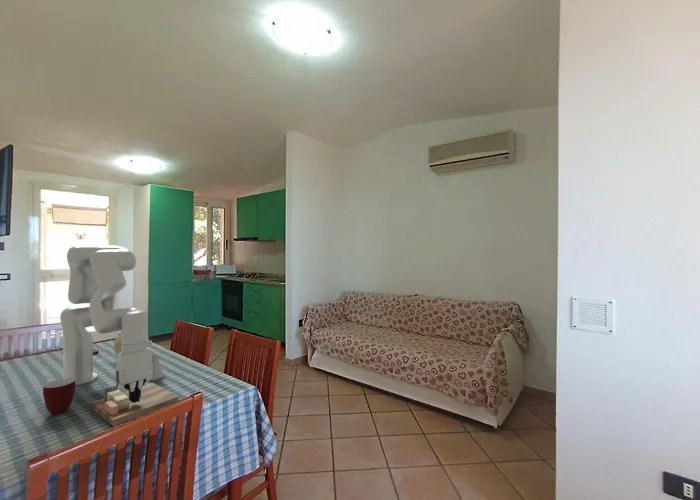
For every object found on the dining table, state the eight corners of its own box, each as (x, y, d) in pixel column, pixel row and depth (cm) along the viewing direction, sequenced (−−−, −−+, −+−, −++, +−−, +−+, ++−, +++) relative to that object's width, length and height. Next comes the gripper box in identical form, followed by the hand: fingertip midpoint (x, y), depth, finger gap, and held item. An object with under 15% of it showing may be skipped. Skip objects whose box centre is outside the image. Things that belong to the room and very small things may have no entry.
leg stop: (104, 409, 106) (104, 402, 106) (111, 407, 108) (111, 400, 108) (111, 415, 103) (111, 407, 103) (118, 412, 104) (118, 405, 104)
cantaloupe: (109, 359, 162) (109, 330, 162) (141, 352, 174) (141, 324, 174) (121, 365, 153) (121, 334, 154) (154, 357, 165) (154, 328, 166)
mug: (38, 412, 109) (38, 382, 109) (69, 402, 115) (69, 375, 116) (46, 421, 103) (46, 390, 103) (78, 411, 109) (78, 381, 109)
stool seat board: (91, 408, 111) (91, 402, 111) (153, 388, 127) (153, 383, 127) (112, 426, 100) (113, 420, 100) (178, 401, 116) (178, 396, 116)
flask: (155, 382, 134) (154, 358, 134) (140, 380, 135) (140, 357, 135) (168, 375, 141) (168, 352, 141) (154, 374, 142) (154, 351, 142)
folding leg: (103, 399, 113) (103, 389, 113) (115, 395, 116) (115, 385, 116) (117, 411, 105) (117, 399, 105) (129, 406, 108) (129, 396, 108)
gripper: (153, 340, 118) (153, 390, 118) (104, 351, 106) (104, 407, 106) (162, 343, 114) (163, 395, 113) (113, 354, 101) (113, 413, 101)
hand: (134, 401), depth 109 cm, fingers closed
